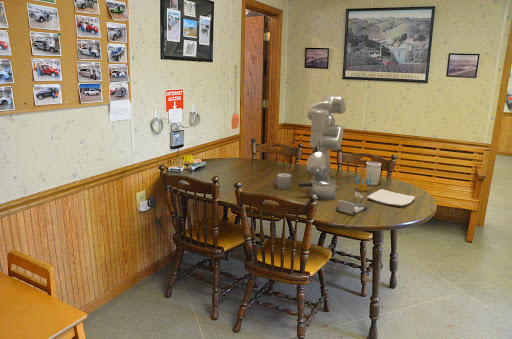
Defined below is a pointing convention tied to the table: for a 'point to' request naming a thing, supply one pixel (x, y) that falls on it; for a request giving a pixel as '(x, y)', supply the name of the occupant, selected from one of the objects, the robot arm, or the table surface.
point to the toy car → (351, 206)
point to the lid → (318, 164)
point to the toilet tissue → (283, 180)
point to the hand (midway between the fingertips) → (314, 157)
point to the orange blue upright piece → (363, 180)
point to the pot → (321, 187)
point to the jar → (373, 172)
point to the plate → (391, 198)
